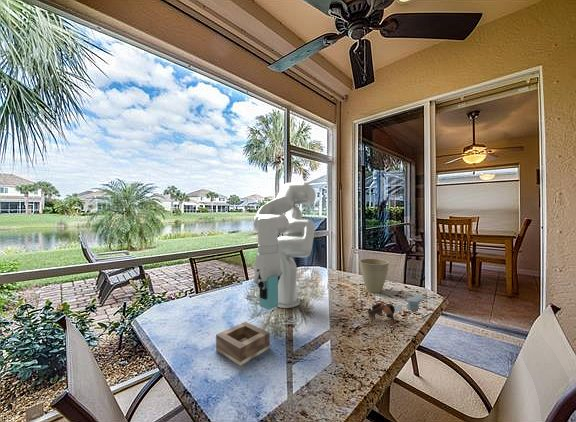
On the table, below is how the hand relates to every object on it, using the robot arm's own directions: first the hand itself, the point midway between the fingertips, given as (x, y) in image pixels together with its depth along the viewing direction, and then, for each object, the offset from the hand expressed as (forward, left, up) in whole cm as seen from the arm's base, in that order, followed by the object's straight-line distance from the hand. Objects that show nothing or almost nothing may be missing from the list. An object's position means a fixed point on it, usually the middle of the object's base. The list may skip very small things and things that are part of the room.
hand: (268, 295), depth 97 cm
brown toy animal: (-32, +32, -12) cm, 47 cm away
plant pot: (-65, +14, -12) cm, 68 cm away
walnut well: (+17, +5, -11) cm, 21 cm away
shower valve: (-51, +38, -12) cm, 65 cm away
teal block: (0, 0, -4) cm, 4 cm away
